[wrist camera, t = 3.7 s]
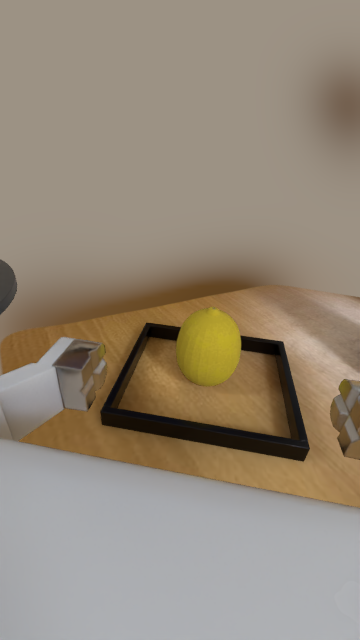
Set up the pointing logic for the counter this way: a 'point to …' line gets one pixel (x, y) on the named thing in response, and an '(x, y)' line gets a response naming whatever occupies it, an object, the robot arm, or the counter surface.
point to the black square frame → (205, 432)
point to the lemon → (208, 347)
